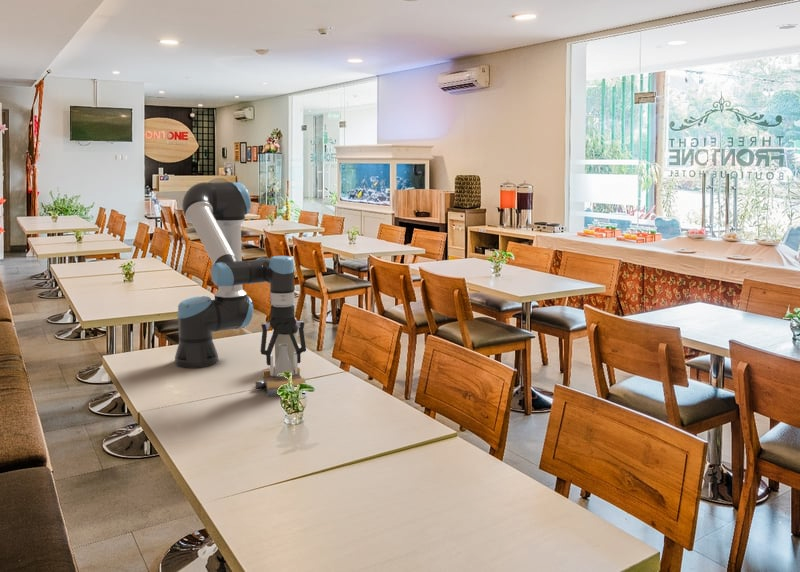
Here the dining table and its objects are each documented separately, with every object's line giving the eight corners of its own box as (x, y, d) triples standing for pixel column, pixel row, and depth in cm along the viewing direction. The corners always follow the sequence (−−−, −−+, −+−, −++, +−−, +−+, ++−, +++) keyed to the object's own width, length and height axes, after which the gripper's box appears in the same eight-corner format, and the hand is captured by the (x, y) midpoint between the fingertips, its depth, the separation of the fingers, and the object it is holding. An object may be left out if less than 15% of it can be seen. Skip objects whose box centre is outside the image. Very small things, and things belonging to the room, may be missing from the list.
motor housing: (253, 383, 229) (253, 370, 228) (299, 379, 234) (298, 367, 233) (257, 397, 216) (257, 383, 215) (305, 393, 220) (305, 380, 220)
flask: (297, 371, 228) (296, 342, 226) (291, 378, 220) (291, 348, 219) (276, 370, 228) (275, 341, 226) (269, 377, 221) (269, 347, 219)
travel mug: (302, 366, 248) (301, 317, 245) (287, 372, 241) (286, 322, 238) (285, 362, 252) (284, 314, 249) (270, 368, 246) (269, 319, 242)
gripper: (251, 308, 214) (253, 379, 218) (315, 305, 219) (316, 374, 224) (249, 303, 221) (251, 372, 225) (311, 300, 226) (312, 367, 231)
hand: (283, 373), depth 224 cm, fingers closed on flask, 7 cm apart
